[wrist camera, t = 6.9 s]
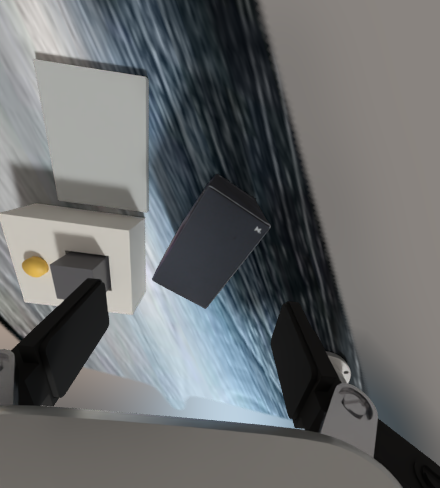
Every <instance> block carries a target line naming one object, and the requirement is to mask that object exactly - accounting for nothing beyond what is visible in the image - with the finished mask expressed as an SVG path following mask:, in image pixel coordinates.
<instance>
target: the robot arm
mask: <svg viewBox="0 0 440 488" xmlns="http://www.w3.org/2000/svg"><path fill="white" fill-rule="evenodd" d="M108 326H109V315H108V306H107V297H106V288H105V283H103V282H102V280H101V279H94V278H87V279H86V280H85V281H84V282H83V283H82V284H81V285H80V286H79V287H78V288H76V289H75V290H74V291H73V292H72V293H71V294H70V295H69V296H68V297H67V298H66V299H65V300H64V301H63V302H62V303H61V304H60V305H59V306H57V307H56V308H55V309H54V310H53V311H52V312H51V313H50V314H49V315H48V316H47V317H46V318H45V319H44V320H43V321H42V322H41V323H40V324H39V325H37V326H36V327H35V328H34V329H33V330H32V331H31V332H30V333H29V334H28V335H27V336H26V337H25V338H24V339H23V340H22V341H21V342H20V343H18V344H17V346H15V348H13V349H12V350H11V351H10V350H6V349H1V350H0V488H440V467H439V466H438V465H437V464H436V463H435V462H434V461H432V460H431V459H430V458H428V457H427V456H426V455H424V454H423V453H422V452H421V451H419V450H418V449H417V448H415V447H414V446H413V445H412V444H410V443H409V442H408V441H406V440H405V439H404V438H403V437H401V436H400V435H399V434H397V433H396V432H395V431H393V430H392V429H391V428H390V427H388V426H387V425H386V424H384V423H383V422H382V421H381V420H379V419H378V414H377V411H376V408H375V406H374V405H373V403H372V401H371V400H370V399H369V398H368V397H367V395H366V394H365V393H363V392H362V391H361V390H360V389H358V388H356V387H355V386H353V385H350V384H348V382H349V380H350V377H351V372H350V369H349V367H348V365H347V363H346V362H345V360H344V359H343V358H342V357H340V356H339V355H337V354H334V353H331V352H327V351H325V349H324V347H323V345H322V343H321V341H320V339H319V337H318V336H317V334H316V332H315V331H314V330H312V328H311V326H310V324H309V322H308V320H307V318H306V316H305V314H304V312H303V310H302V308H301V306H300V304H299V303H298V302H290V301H287V302H286V304H283V305H282V308H281V311H280V314H279V317H278V320H277V323H276V326H275V329H274V332H273V335H272V338H271V348H272V352H273V356H274V360H275V364H276V368H277V372H278V376H279V381H280V385H281V389H282V393H283V397H284V401H285V405H286V409H287V413H288V416H289V418H290V419H293V423H294V427H295V428H301V429H302V430H300V429H292V428H283V427H274V426H266V425H257V424H246V423H236V422H225V421H215V420H204V419H193V418H182V417H171V416H159V415H148V414H137V413H124V412H113V411H101V410H88V409H77V408H62V407H47V406H54V405H55V403H56V402H57V400H58V399H59V398H61V397H63V396H64V395H65V394H66V392H67V391H68V389H69V387H70V386H71V384H72V383H73V381H74V380H75V378H76V377H77V375H78V373H79V372H80V370H81V369H82V367H83V366H84V364H85V363H86V361H87V360H88V358H89V356H90V355H91V353H92V352H93V350H94V349H95V347H96V346H97V344H98V342H99V341H100V339H101V338H102V336H103V335H104V333H105V332H106V330H107V328H108ZM40 405H43V406H40Z"/></svg>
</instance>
